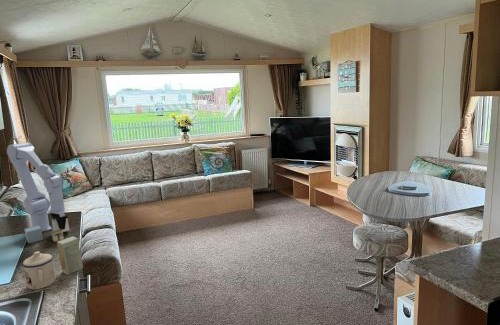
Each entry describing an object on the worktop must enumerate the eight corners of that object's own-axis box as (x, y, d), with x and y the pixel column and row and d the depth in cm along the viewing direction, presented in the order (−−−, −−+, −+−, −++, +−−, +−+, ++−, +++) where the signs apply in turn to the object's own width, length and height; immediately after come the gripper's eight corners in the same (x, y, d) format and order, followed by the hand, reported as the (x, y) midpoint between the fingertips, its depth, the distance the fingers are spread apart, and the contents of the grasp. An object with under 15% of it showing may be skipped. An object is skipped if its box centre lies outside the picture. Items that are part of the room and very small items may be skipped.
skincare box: (78, 265, 141) (73, 235, 138) (83, 268, 138) (79, 238, 136) (61, 272, 136) (56, 241, 134) (66, 275, 133) (61, 243, 131)
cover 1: (26, 240, 170) (24, 228, 169) (40, 236, 174) (38, 225, 173) (28, 243, 166) (26, 231, 165) (43, 239, 169) (41, 228, 168)
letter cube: (52, 239, 169) (50, 231, 168) (61, 237, 172) (60, 229, 171) (54, 242, 166) (53, 233, 165) (63, 239, 169) (62, 231, 168)
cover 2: (53, 230, 177) (51, 219, 176) (66, 227, 181) (64, 216, 180) (56, 233, 173) (54, 222, 172) (69, 230, 177) (67, 219, 176)
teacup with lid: (26, 282, 129) (20, 251, 127) (55, 274, 134) (50, 244, 132) (27, 297, 119) (21, 263, 117) (58, 288, 124) (53, 256, 122)
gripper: (43, 199, 177) (47, 226, 179) (51, 205, 166) (55, 233, 169) (59, 196, 181) (63, 222, 184) (67, 202, 171) (71, 229, 173)
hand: (60, 227), depth 177 cm, fingers closed on cover 2, 6 cm apart
